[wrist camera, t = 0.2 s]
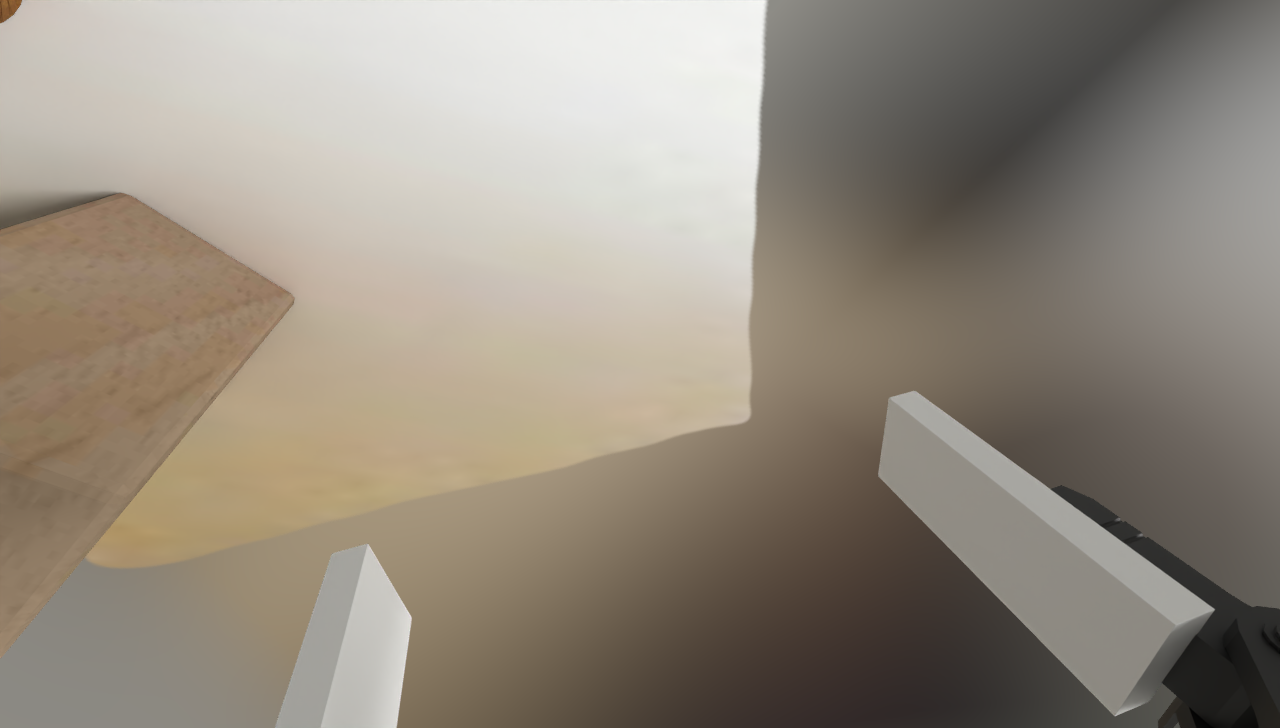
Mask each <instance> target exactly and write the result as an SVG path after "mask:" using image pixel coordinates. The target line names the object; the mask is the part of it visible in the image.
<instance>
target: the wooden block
mask: <svg viewBox="0 0 1280 728" xmlns="http://www.w3.org/2000/svg"><path fill="white" fill-rule="evenodd" d="M293 304H294V297H293V296H292V295H291V294H290V293H289V292H287V291H285V290H284V289H282V288H281V287H279V286H277V285H276V284H274V283H272V282H271V281H269V280H267V279H266V278H264V277H263V276H261V275H259V274H258V273H256V272H254V271H253V270H251V269H250V268H248V267H246V266H245V265H243V264H241V263H240V262H238V261H237V260H235V259H233V258H232V257H230V256H228V255H227V254H225V253H223V252H222V251H220V250H219V249H217V248H215V247H214V246H212V245H210V244H209V243H207V242H206V241H204V240H202V239H201V238H199V237H197V236H196V235H194V234H193V233H191V232H189V231H188V230H186V229H184V228H183V227H181V226H179V225H178V224H176V223H175V222H173V221H171V220H170V219H168V218H166V217H165V216H163V215H162V214H160V213H158V212H157V211H155V210H153V209H152V208H150V207H149V206H147V205H145V204H144V203H142V202H140V201H139V200H137V199H135V198H134V197H132V196H130V195H127V194H124V193H119V194H115V195H112V196H109V197H105V198H102V199H99V200H96V201H92V202H89V203H86V204H82V205H79V206H76V207H73V208H69V209H66V210H63V211H59V212H56V213H53V214H49V215H46V216H43V217H40V218H36V219H33V220H30V221H26V222H23V223H20V224H17V225H13V226H10V227H7V228H3V229H0V658H2V656H3V655H4V654H5V653H6V651H7V650H8V649H9V648H10V647H11V645H12V644H13V643H14V642H15V641H16V639H17V638H18V637H19V636H20V635H21V633H22V632H23V631H24V630H25V629H26V627H27V626H28V625H29V624H30V623H31V621H32V620H33V619H34V618H35V617H36V615H37V614H38V613H39V612H40V610H41V609H42V608H43V607H44V606H45V604H46V603H47V602H48V601H49V600H50V598H51V597H52V596H53V595H54V594H55V592H56V591H57V590H58V589H59V588H60V586H61V585H62V584H63V583H64V581H65V580H66V579H67V578H68V577H69V576H70V574H71V573H72V572H73V571H74V569H75V568H76V567H77V566H78V565H79V563H80V562H81V561H82V560H83V559H84V557H85V556H86V555H87V554H88V553H89V551H90V550H91V549H92V548H93V547H94V545H95V544H96V543H97V542H98V541H99V539H100V538H101V537H102V536H103V535H104V533H105V532H106V531H107V530H108V528H109V527H110V526H111V525H112V524H113V522H114V521H115V520H116V519H117V518H118V516H119V515H120V514H121V513H122V512H123V510H124V509H125V508H126V507H127V506H128V504H129V503H130V502H131V501H132V500H133V498H134V497H135V496H136V495H137V493H138V492H139V491H140V490H141V489H142V487H143V486H144V485H145V484H146V483H147V481H148V480H149V479H150V478H151V476H152V475H153V474H154V473H155V472H156V470H157V469H158V468H159V467H160V466H161V464H162V463H163V462H164V461H165V459H166V458H167V457H168V456H169V455H170V453H171V452H172V451H173V450H174V449H175V447H176V446H177V445H178V444H179V442H180V441H181V440H182V439H183V438H184V436H185V435H186V434H187V433H188V432H189V430H190V429H191V428H192V427H193V425H194V424H195V423H196V422H197V421H198V419H199V418H200V417H201V416H202V414H203V413H204V412H205V411H206V410H207V408H208V407H209V406H210V405H211V404H212V402H213V401H214V400H215V399H216V397H217V396H218V395H219V394H220V393H221V391H222V390H223V389H224V388H225V387H226V385H227V384H228V383H229V382H230V380H231V379H232V378H233V377H234V376H235V374H236V373H237V372H238V371H239V370H240V368H241V367H242V366H243V365H244V363H245V362H246V361H247V360H248V359H249V357H250V356H251V355H252V354H253V353H254V351H255V350H256V349H257V348H258V346H259V345H260V344H261V343H262V342H263V340H264V339H265V338H266V337H267V336H268V334H269V333H270V332H271V331H272V329H273V328H274V327H275V326H276V325H277V323H278V322H279V321H280V320H281V319H282V317H283V316H284V315H285V314H286V312H287V311H288V310H289V309H290V308H291V306H292V305H293Z"/></svg>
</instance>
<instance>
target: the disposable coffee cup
mask: <svg viewBox="0 0 1280 728" xmlns="http://www.w3.org/2000/svg"><path fill="white" fill-rule="evenodd" d="M21 2H22V0H0V23H2V22H4V21H6V20H7V19H8V18H10V17H11V16H12V15H14V13H15V12H16V11H17V9H18V8H19V6H20V5H21Z"/></svg>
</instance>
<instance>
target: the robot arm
mask: <svg viewBox="0 0 1280 728" xmlns="http://www.w3.org/2000/svg"><path fill="white" fill-rule="evenodd" d="M878 476H879V477H880V478H881V479H882V480H883V481H884V482H885V483H886V484H887V485H888V486H889V487H890V488H891V489H892V490H893V491H894V492H895V493H896V494H897V496H898V497H900V499H901V500H903V502H905V504H906V505H907V506H908V507H909V508H910V509H911V510H912V511H913V512H914V513H915V514H916V515H917V516H918V517H919V518H920V519H921V520H922V521H923V522H924V523H925V524H926V525H927V526H928V527H929V528H930V529H931V530H932V531H933V532H934V533H935V534H936V535H937V536H938V537H939V538H940V539H941V540H942V541H943V542H944V543H945V544H946V545H947V546H948V547H949V548H950V549H951V550H952V551H953V552H954V553H955V554H956V555H957V556H958V557H959V558H960V559H961V561H963V562H964V563H965V565H967V566H968V567H969V569H970V570H971V571H972V572H973V573H974V574H975V575H976V576H977V577H978V578H979V579H980V580H981V581H982V582H983V583H984V584H985V585H986V586H988V588H989V589H990V590H991V591H992V592H993V593H994V594H995V595H996V596H997V597H998V598H999V599H1000V600H1001V601H1002V602H1003V603H1004V604H1005V605H1006V606H1007V607H1008V608H1009V609H1010V610H1011V611H1012V612H1013V613H1014V614H1015V615H1016V616H1017V617H1018V618H1019V619H1020V620H1021V621H1022V622H1023V623H1024V624H1025V626H1026V627H1028V629H1029V630H1030V631H1031V632H1032V633H1033V634H1034V635H1035V636H1036V637H1037V638H1038V639H1039V640H1040V641H1041V642H1042V643H1043V644H1044V645H1045V646H1046V647H1047V648H1048V649H1049V650H1050V651H1051V652H1052V653H1053V654H1054V655H1055V656H1056V657H1057V658H1058V659H1059V660H1060V661H1061V662H1062V663H1063V664H1064V665H1065V666H1066V667H1067V668H1068V669H1069V670H1070V671H1071V672H1072V673H1073V674H1074V675H1075V676H1076V677H1077V678H1078V679H1079V680H1080V681H1081V682H1082V683H1083V684H1084V685H1085V686H1086V687H1087V689H1088V690H1090V692H1092V693H1093V695H1094V696H1095V697H1097V699H1098V700H1099V701H1100V702H1101V703H1102V704H1103V705H1104V706H1105V707H1106V708H1107V709H1108V710H1109V711H1110V712H1111V713H1112V714H1113V715H1114V716H1116V715H1118V714H1121V713H1123V712H1126V711H1128V710H1131V709H1133V708H1135V707H1138V706H1140V705H1143V704H1145V703H1147V702H1149V701H1150V700H1151V698H1152V697H1153V695H1154V694H1155V693H1156V691H1157V690H1158V688H1159V687H1160V686H1161V684H1162V683H1163V684H1164V685H1165V686H1166V687H1167V688H1169V689H1170V690H1171V691H1172V692H1173V693H1174V694H1175V695H1176V696H1177V697H1176V698H1175V699H1174V701H1173V702H1172V703H1171V705H1170V706H1169V707H1168V709H1167V710H1166V711H1165V713H1164V714H1163V715H1162V717H1161V718H1160V719H1159V720H1158V728H1173V727H1174V726H1175V725H1176V724H1177V723H1178V722H1179V725H1180V728H1280V609H1277V608H1268V607H1260V606H1256V607H1251V606H1249V605H1247V604H1245V603H1243V602H1242V601H1240V600H1239V599H1237V598H1235V597H1234V596H1232V595H1231V594H1229V593H1228V592H1226V591H1225V590H1223V589H1222V588H1221V587H1219V586H1218V585H1216V584H1215V583H1213V582H1212V581H1210V580H1209V579H1208V578H1206V577H1205V576H1203V575H1202V574H1200V573H1199V572H1197V571H1196V570H1195V569H1193V568H1192V567H1190V566H1189V565H1187V564H1186V563H1184V562H1183V561H1182V560H1180V559H1179V558H1177V557H1176V556H1174V555H1173V554H1172V553H1170V552H1169V551H1167V550H1166V549H1164V548H1163V547H1161V546H1160V545H1159V544H1157V543H1156V542H1154V541H1153V540H1151V539H1150V538H1148V537H1147V538H1145V537H1143V535H1142V533H1141V532H1140V531H1138V530H1137V529H1136V528H1134V527H1133V526H1131V525H1130V524H1128V523H1127V522H1122V521H1121V520H1120V517H1118V516H1117V515H1115V514H1114V513H1112V512H1111V511H1110V510H1108V509H1107V508H1105V507H1104V506H1102V505H1101V504H1099V503H1098V502H1096V501H1095V500H1094V499H1092V498H1090V497H1087V496H1085V495H1083V494H1080V493H1078V492H1076V491H1074V490H1071V489H1069V488H1067V487H1064V486H1062V485H1061V486H1058V487H1055V488H1052V489H1049V488H1047V487H1046V486H1045V485H1044V484H1042V483H1041V482H1039V481H1038V480H1037V479H1035V478H1034V477H1033V476H1031V475H1030V474H1028V473H1027V472H1025V471H1024V470H1023V469H1022V468H1020V467H1019V466H1018V465H1016V464H1015V463H1013V462H1012V461H1011V460H1009V459H1008V458H1006V457H1005V456H1004V455H1002V454H1001V453H999V452H998V451H997V450H995V449H994V448H993V447H991V446H990V445H989V444H987V443H986V442H985V441H983V440H982V439H980V438H979V437H978V436H976V435H975V434H974V433H972V432H971V431H970V430H968V429H967V428H965V427H964V426H963V425H961V424H960V423H959V422H957V421H956V420H954V419H953V418H952V417H950V416H949V415H948V414H946V413H945V412H943V411H942V410H941V409H939V408H938V407H937V406H935V405H934V404H932V403H931V402H930V401H928V400H927V399H926V398H924V397H923V396H922V395H920V394H919V393H917V392H916V391H912V392H909V393H905V394H901V395H898V396H894V397H890V398H889V403H888V409H887V417H886V424H885V431H884V438H883V445H882V452H881V459H880V466H879V474H878ZM411 620H412V618H411V616H410V614H409V612H408V611H407V609H406V607H405V605H404V604H403V602H402V601H401V599H400V597H399V595H398V594H397V592H396V591H395V589H394V587H393V585H392V584H391V582H390V580H389V579H388V577H387V575H386V573H385V572H384V570H383V568H382V567H381V565H380V563H379V562H378V560H377V558H376V556H375V555H374V553H373V551H372V550H371V548H370V546H369V545H368V544H365V545H361V546H357V547H354V548H350V549H347V550H343V551H339V552H336V553H332V555H331V558H330V561H329V564H328V567H327V570H326V573H325V576H324V579H323V582H322V585H321V589H320V592H319V594H318V598H317V601H316V604H315V607H314V610H313V613H312V616H311V619H310V622H309V625H308V628H307V631H306V634H305V638H304V640H303V643H302V646H301V649H300V653H299V656H298V659H297V662H296V665H295V668H294V671H293V674H292V677H291V680H290V683H289V686H288V689H287V692H286V695H285V699H284V701H283V704H282V707H281V710H280V714H279V717H278V720H277V723H276V726H275V728H396V727H397V719H398V712H399V705H400V698H401V691H402V684H403V677H404V669H405V662H406V656H407V649H408V641H409V634H410V627H411Z"/></svg>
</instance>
